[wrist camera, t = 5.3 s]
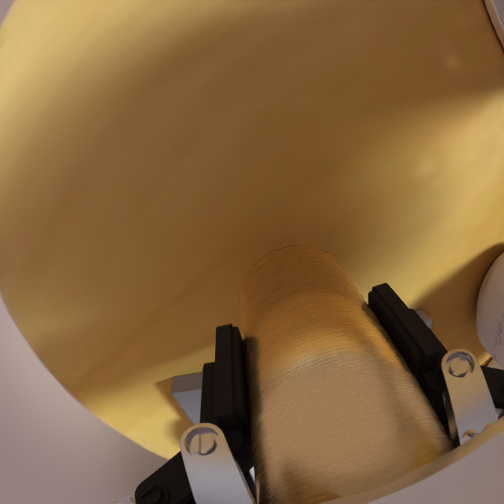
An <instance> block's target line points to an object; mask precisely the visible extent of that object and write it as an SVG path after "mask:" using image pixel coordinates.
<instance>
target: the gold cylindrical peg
mask: <svg viewBox="0 0 504 504" xmlns="http://www.w3.org/2000/svg"><path fill="white" fill-rule="evenodd" d="M240 303H241V317H242V332H243V345H244V359H245V372H246V385H247V397H248V409H249V421H250V433H251V444H252V455H253V466H254V476H255V487H256V497H257V504H319V503H323V502H327V501H331V500H335V499H338V498H342V497H346V496H351V495H356V494H361V493H364V492H367V491H371V490H374V489H377V488H380V487H382V486H384V485H387V484H389V483H391V482H393V481H396V480H398V479H399V478H401V477H403V476H405V475H406V474H408V473H410V472H412V471H414V470H416V469H418V468H420V467H422V466H424V465H426V464H428V463H430V462H432V461H434V460H436V459H438V458H440V457H441V456H443V455H445V454H447V453H449V452H450V451H452V450H454V449H455V448H454V446H453V444H452V442H451V440H450V438H449V436H448V435H447V433H446V431H445V429H444V427H443V425H442V423H441V422H440V420H439V418H438V416H437V414H436V413H435V411H434V409H433V407H432V406H431V404H430V402H429V400H428V399H427V397H426V395H425V393H424V392H423V390H422V388H421V387H420V385H419V383H418V382H417V380H416V378H415V377H414V375H413V373H412V372H411V370H410V368H409V367H408V365H407V364H406V362H405V360H404V359H403V357H402V356H401V354H400V352H399V351H398V349H397V348H396V346H395V345H394V343H393V341H392V340H391V338H390V337H389V335H388V334H387V332H386V331H385V329H384V328H383V326H382V325H381V323H380V322H379V320H378V319H377V317H376V316H375V314H374V313H373V311H372V310H371V308H370V307H369V305H368V304H367V303H366V301H365V300H364V298H363V297H362V295H361V294H360V293H359V291H358V290H357V288H356V287H355V285H354V284H353V283H352V281H351V280H350V278H349V277H348V276H347V274H346V273H345V271H344V270H343V269H342V267H341V266H340V265H339V263H338V262H337V261H336V260H335V259H334V258H333V257H332V256H331V255H330V254H328V253H327V252H325V251H323V250H321V249H318V248H315V247H311V246H301V245H299V246H289V247H285V248H281V249H278V250H276V251H273V252H271V253H269V254H268V255H266V256H264V257H263V258H262V259H260V260H259V261H258V262H257V263H256V264H255V265H254V266H253V267H252V268H251V269H250V271H249V272H248V273H247V275H246V277H245V279H244V281H243V284H242V287H241V292H240Z"/></svg>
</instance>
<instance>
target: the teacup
mask: <svg viewBox="0 0 504 504" xmlns="http://www.w3.org/2000/svg"><path fill="white" fill-rule="evenodd" d="M476 330H477V335H478V338H479V340H480V342H481V344H482V346H483V347H484V348H485V350H486V351H487V352H488V353H489V354H490V356H491V357H492V358H493V359H494V360H495V361H496V362H497V363H498V364H499V365H500V366H501V367H502V369H503V370H504V252H503V253H502V254H501V255H500V256H499V257H498V258H497V259H496V260H495V261H494V263H493V264H492V266H491V267H490V269H489V270H488V272H487V274H486V276H485V278H484V281H483V283H482V286H481V288H480V292H479V295H478V300H477V316H476Z"/></svg>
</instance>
